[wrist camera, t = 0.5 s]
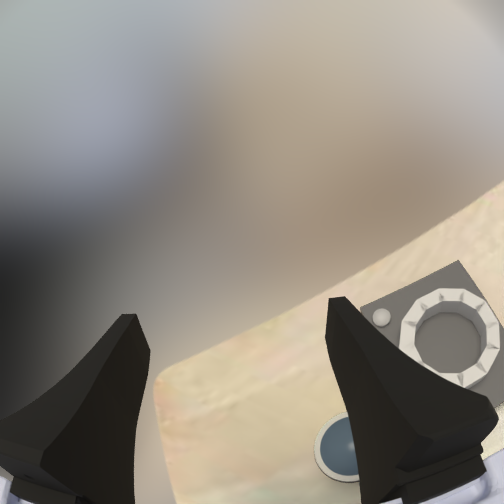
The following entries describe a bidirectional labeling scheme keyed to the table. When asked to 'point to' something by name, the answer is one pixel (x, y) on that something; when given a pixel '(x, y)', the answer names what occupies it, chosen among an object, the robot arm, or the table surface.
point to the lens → (337, 450)
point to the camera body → (446, 329)
